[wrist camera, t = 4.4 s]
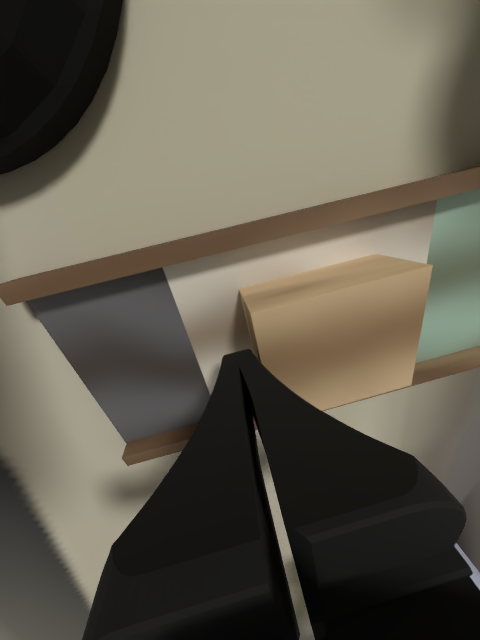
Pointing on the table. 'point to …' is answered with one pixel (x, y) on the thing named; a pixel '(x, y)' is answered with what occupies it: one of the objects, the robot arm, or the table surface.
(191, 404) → the channel
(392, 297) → the oak block
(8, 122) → the sculpture
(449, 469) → the table surface
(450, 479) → the table surface
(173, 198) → the table surface
